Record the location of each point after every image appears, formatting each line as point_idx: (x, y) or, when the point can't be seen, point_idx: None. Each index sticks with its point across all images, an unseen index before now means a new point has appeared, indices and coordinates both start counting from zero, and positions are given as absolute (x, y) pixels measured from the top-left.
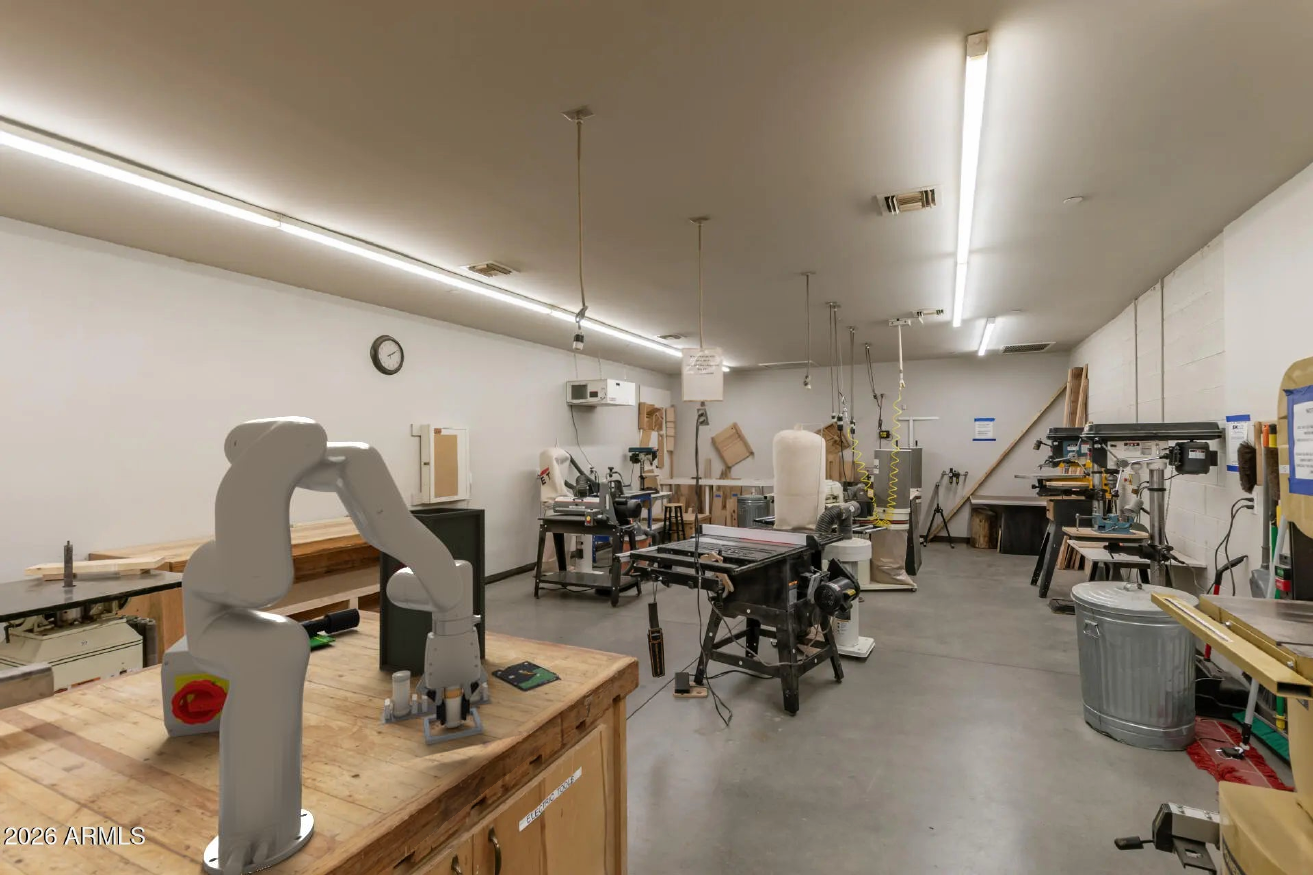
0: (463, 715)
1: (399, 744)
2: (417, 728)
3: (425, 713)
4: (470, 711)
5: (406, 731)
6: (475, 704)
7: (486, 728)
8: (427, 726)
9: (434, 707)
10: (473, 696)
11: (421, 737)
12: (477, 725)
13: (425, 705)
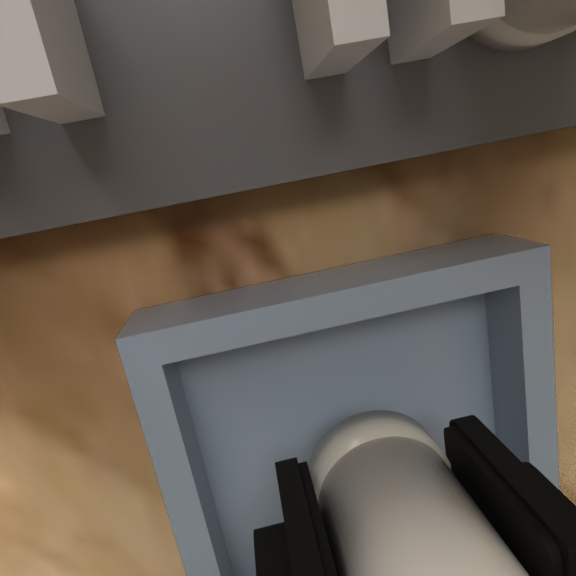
0: None
1: (19, 490)
2: (82, 285)
3: (99, 165)
4: (498, 286)
5: (6, 314)
6: (535, 97)
7: None
8: (186, 495)
9: (160, 35)
10: (563, 31)
11: None
12: None
13: (68, 111)
